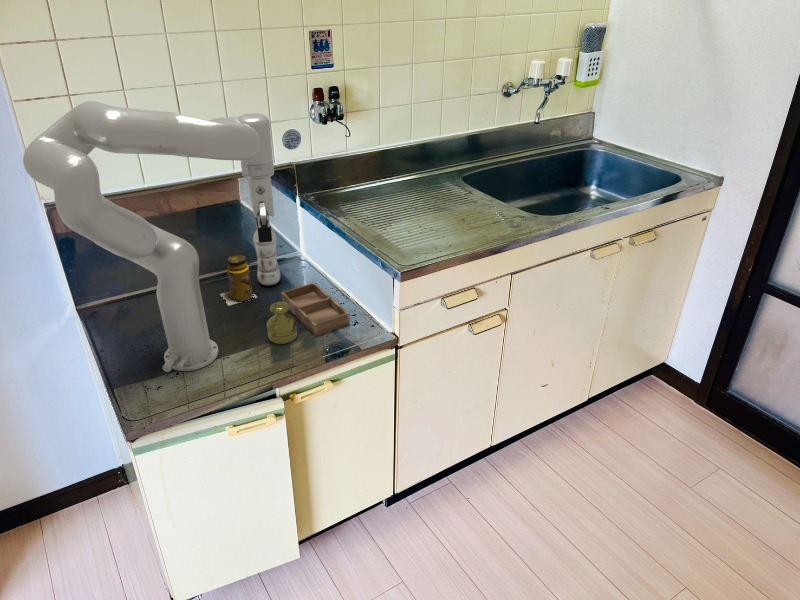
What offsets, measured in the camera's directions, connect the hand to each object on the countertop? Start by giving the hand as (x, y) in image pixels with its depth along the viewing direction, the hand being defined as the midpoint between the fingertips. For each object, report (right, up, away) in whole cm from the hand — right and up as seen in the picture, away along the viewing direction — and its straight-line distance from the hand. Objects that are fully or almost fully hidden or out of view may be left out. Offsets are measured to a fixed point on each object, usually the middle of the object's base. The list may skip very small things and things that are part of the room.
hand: (264, 233), depth 152 cm
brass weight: (+4, -26, +2) cm, 27 cm away
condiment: (-12, -16, +19) cm, 28 cm away
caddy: (+11, -21, +12) cm, 26 cm away
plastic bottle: (-4, -12, +26) cm, 29 cm away
